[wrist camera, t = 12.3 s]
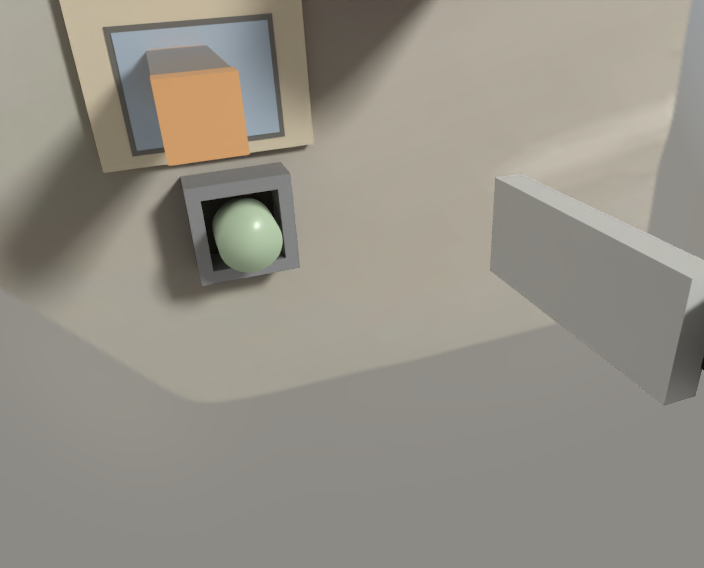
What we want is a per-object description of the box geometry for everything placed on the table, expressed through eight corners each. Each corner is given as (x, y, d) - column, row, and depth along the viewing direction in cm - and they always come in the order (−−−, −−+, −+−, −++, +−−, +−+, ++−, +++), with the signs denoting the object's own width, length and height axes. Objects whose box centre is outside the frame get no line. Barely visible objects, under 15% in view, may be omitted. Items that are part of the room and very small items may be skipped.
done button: (207, 202, 35) (212, 218, 32) (269, 192, 36) (278, 207, 33) (217, 258, 36) (223, 277, 34) (276, 248, 37) (285, 266, 35)
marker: (143, 47, 31) (150, 80, 21) (204, 41, 32) (238, 71, 22) (156, 108, 33) (167, 166, 23) (214, 101, 33) (249, 154, 23)
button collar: (179, 176, 35) (183, 189, 33) (280, 162, 37) (290, 173, 35) (198, 269, 38) (202, 286, 36) (290, 252, 40) (300, 267, 37)
